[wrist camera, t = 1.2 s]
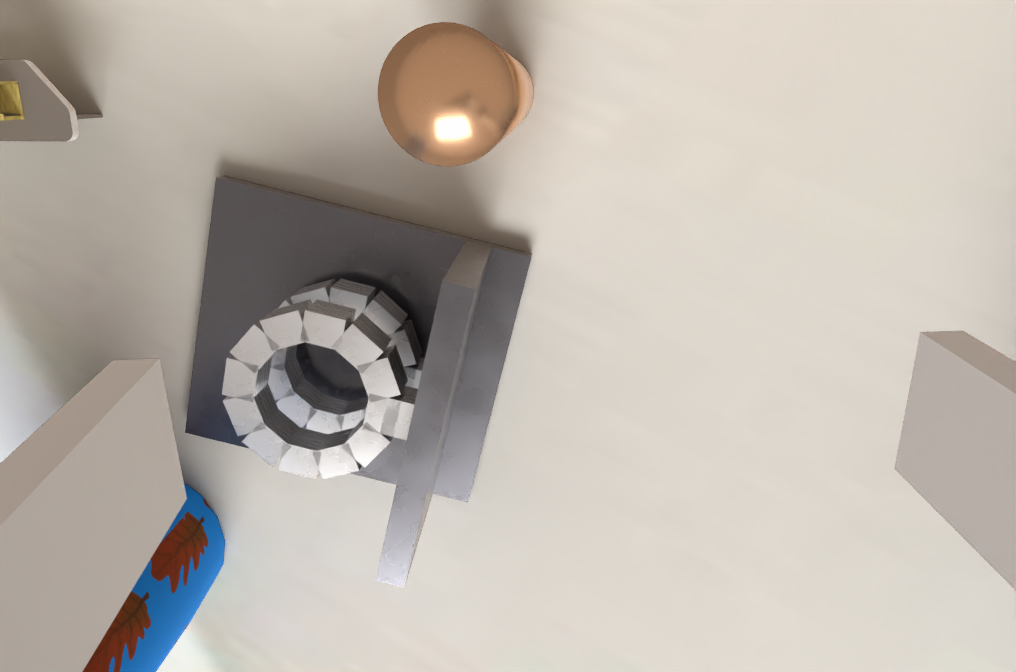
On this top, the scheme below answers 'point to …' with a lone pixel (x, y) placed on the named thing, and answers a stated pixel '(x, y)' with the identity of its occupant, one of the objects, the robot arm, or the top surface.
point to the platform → (34, 106)
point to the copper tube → (451, 94)
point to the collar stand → (352, 347)
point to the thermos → (165, 592)
